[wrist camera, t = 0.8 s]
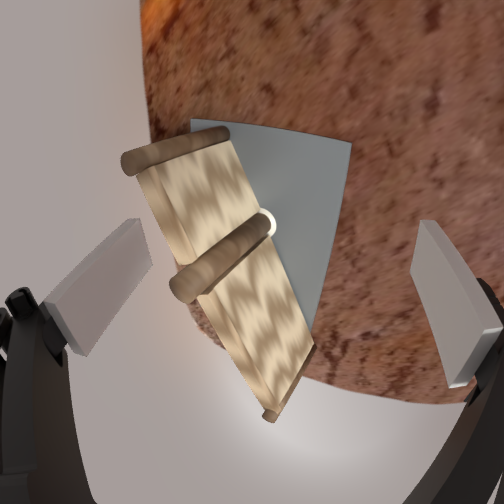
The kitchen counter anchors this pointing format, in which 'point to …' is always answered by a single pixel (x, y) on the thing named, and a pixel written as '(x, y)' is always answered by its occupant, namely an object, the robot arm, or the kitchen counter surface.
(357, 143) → the kitchen counter surface
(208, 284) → the wooden fence section
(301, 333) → the fence panel
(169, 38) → the kitchen counter surface
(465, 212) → the kitchen counter surface
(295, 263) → the card
